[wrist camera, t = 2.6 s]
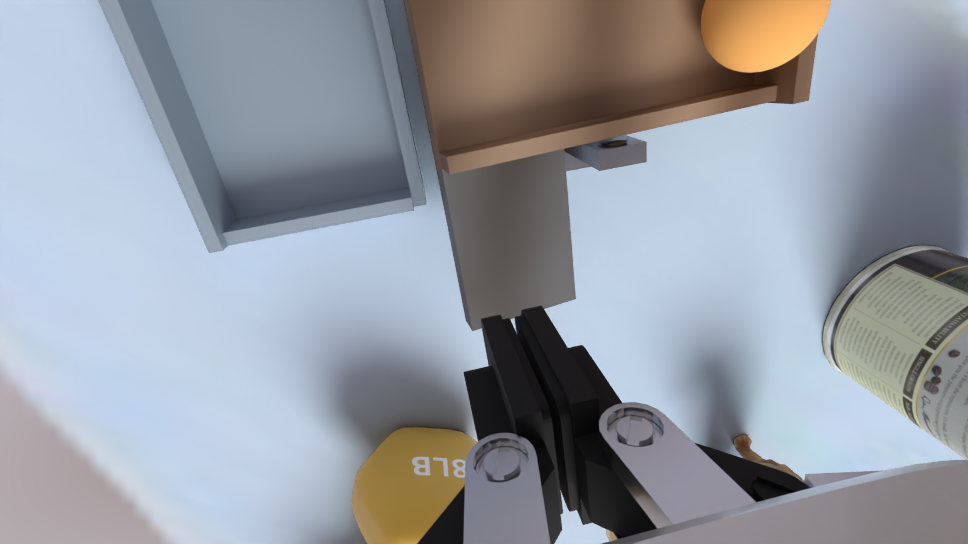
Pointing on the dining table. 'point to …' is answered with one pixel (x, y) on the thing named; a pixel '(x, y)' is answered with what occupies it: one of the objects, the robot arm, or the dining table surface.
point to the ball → (760, 31)
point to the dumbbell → (409, 483)
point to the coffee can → (908, 338)
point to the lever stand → (606, 153)
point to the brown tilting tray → (555, 119)
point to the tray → (273, 110)
